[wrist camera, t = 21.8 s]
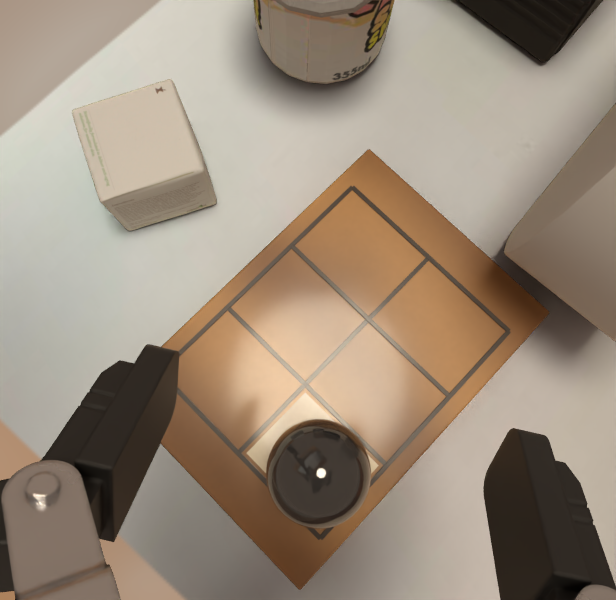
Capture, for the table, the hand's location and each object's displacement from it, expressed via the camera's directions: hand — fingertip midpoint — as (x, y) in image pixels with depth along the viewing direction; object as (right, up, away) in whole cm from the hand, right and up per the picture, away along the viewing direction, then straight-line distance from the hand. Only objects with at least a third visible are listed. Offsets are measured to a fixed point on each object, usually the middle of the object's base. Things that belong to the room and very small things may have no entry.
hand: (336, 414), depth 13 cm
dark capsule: (0, -6, +16) cm, 17 cm away
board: (+1, 0, +18) cm, 18 cm away
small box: (-10, +10, +20) cm, 25 cm away
